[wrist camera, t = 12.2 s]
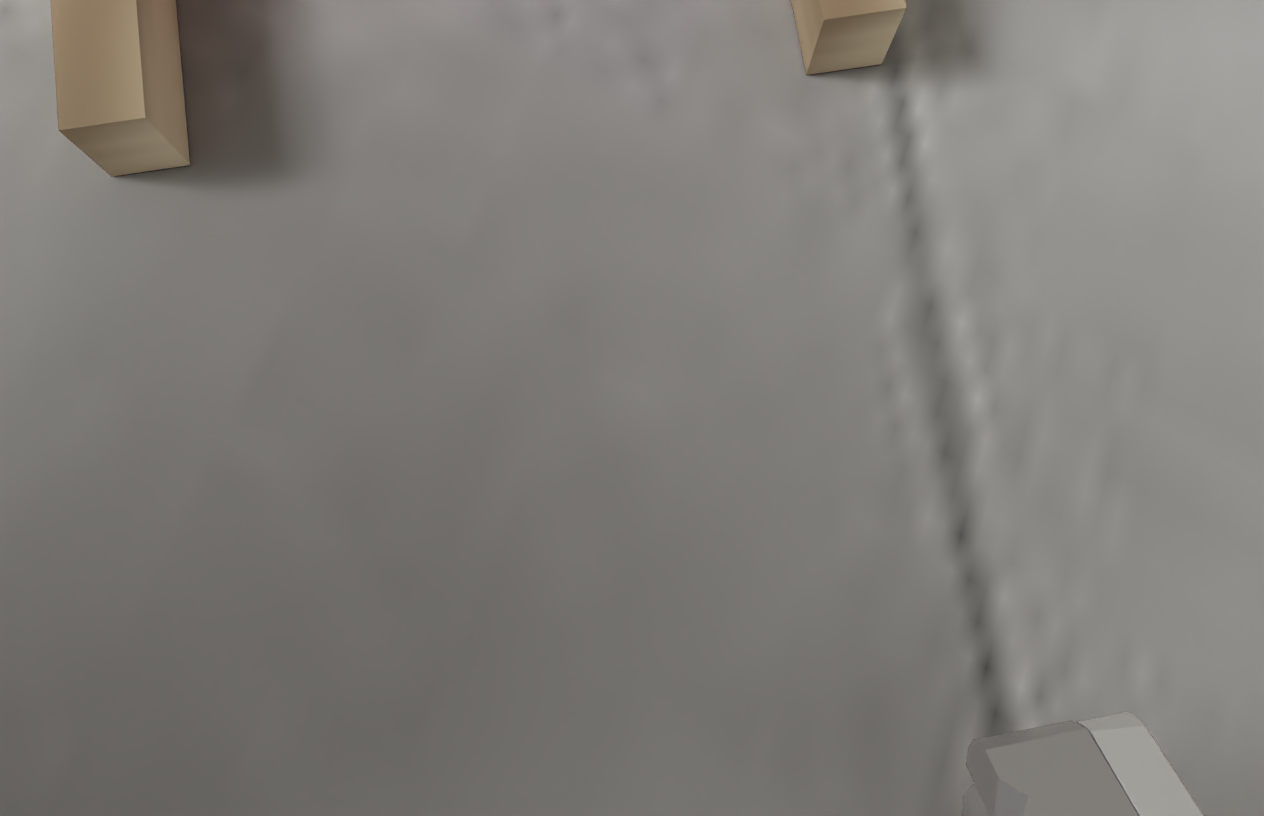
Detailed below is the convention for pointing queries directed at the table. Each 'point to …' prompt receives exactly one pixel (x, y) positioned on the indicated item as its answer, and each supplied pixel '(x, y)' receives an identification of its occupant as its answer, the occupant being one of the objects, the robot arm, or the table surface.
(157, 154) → the bay
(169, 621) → the table surface
